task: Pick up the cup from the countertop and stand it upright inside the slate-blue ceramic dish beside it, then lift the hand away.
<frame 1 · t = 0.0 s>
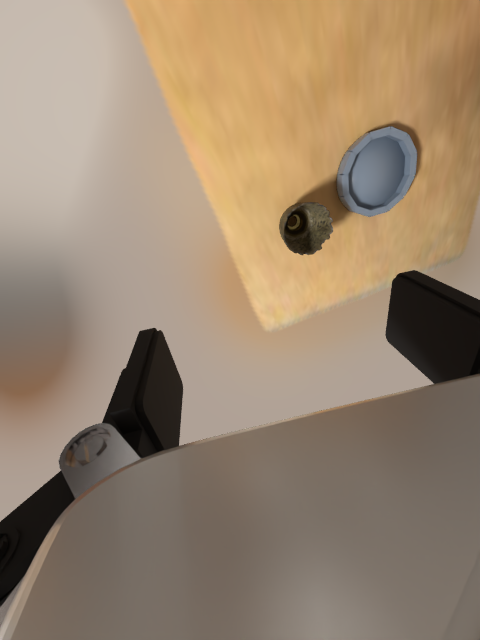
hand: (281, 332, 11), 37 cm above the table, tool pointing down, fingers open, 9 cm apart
dish: (371, 174, 43), on the table
cup: (291, 221, 45), on the table
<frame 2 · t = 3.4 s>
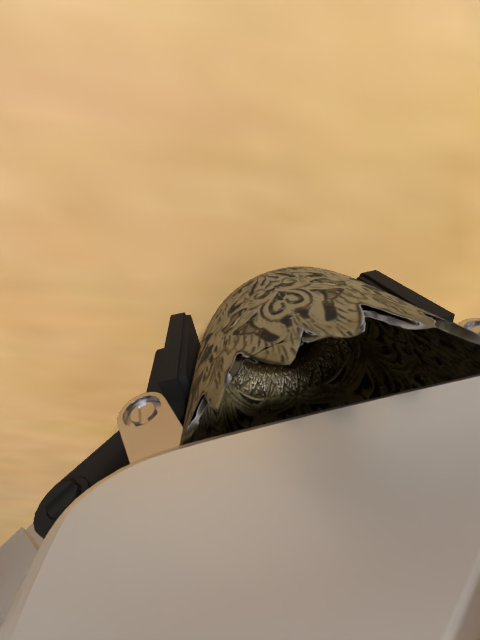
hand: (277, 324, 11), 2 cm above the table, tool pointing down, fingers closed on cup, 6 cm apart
cup: (268, 306, 13), on the table, touching gripper
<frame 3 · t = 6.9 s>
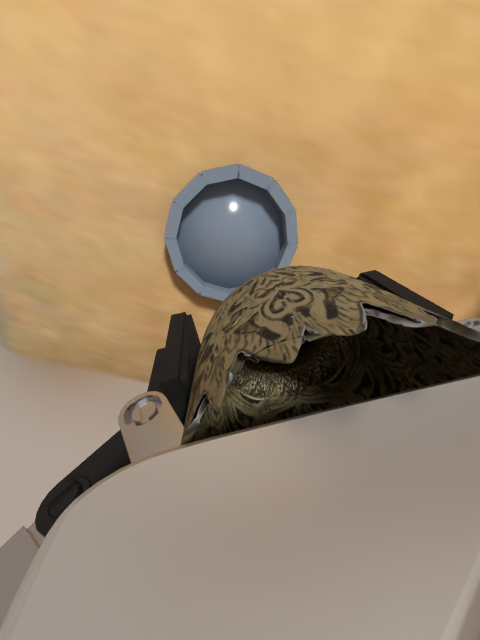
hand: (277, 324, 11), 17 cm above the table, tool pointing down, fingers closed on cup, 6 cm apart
dish: (231, 236, 26), on the table
cup: (267, 306, 13), point 16 cm above the table, touching gripper
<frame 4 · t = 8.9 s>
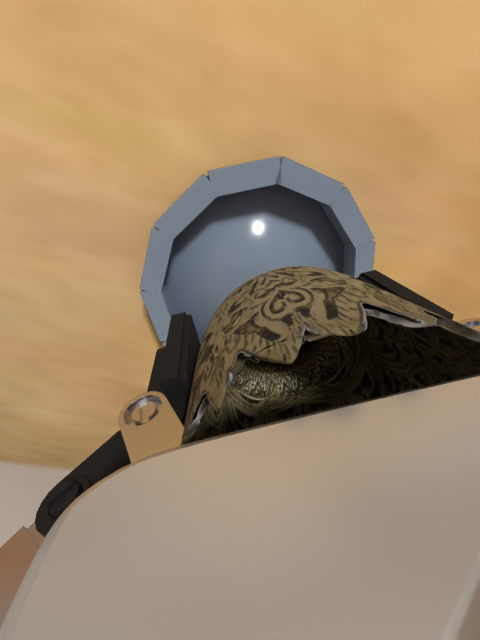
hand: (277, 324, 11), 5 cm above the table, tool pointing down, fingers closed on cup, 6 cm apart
dish: (255, 279, 16), on the table
cup: (267, 306, 13), point 4 cm above the table, touching gripper
when the fingers open (4 cm above the table, at t = 10.3 s): cup drops 1 cm, resting on dish.
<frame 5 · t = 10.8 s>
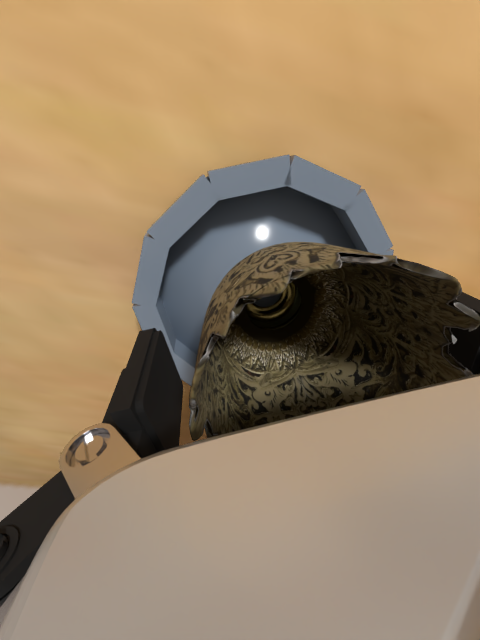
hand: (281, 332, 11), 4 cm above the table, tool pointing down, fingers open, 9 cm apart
dish: (259, 290, 14), on the table
cup: (264, 290, 14), point 1 cm above the table, touching dish
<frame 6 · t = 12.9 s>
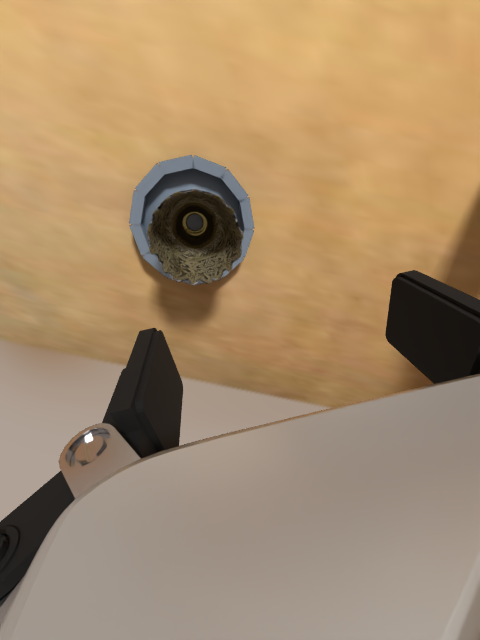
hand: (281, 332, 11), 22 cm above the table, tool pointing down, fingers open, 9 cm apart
dish: (194, 223, 28), on the table
cup: (194, 221, 28), point 1 cm above the table, touching dish
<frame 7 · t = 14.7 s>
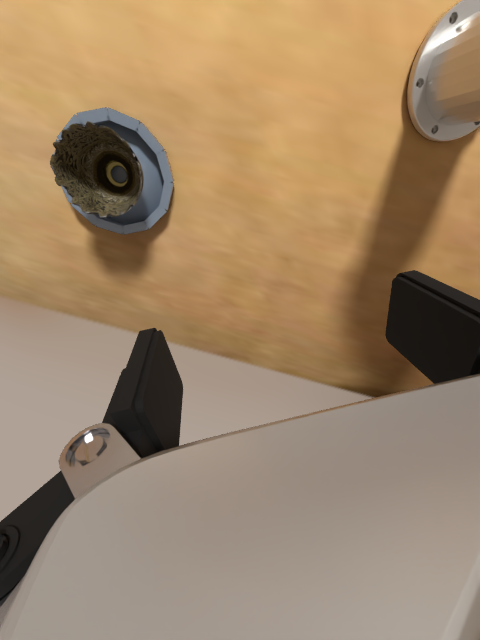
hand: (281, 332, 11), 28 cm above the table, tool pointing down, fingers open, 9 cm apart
dish: (120, 177, 31), on the table
cup: (119, 174, 30), point 1 cm above the table, touching dish
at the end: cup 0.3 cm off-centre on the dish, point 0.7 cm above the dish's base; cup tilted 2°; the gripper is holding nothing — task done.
